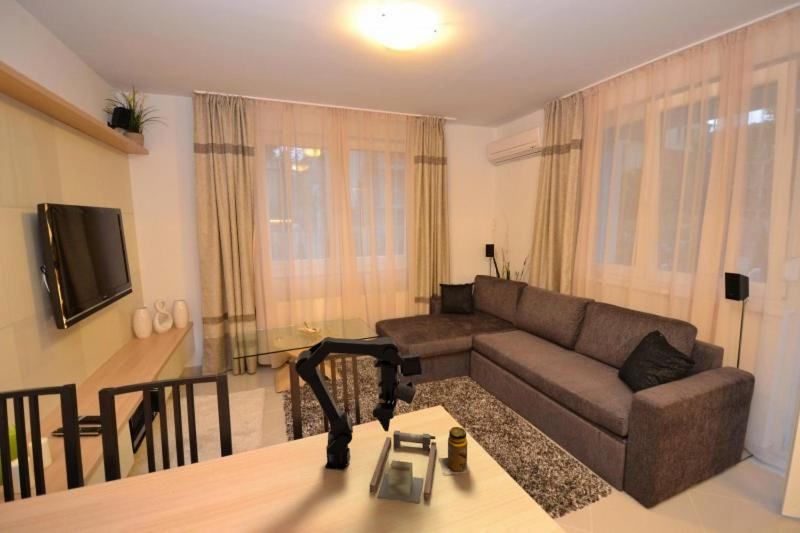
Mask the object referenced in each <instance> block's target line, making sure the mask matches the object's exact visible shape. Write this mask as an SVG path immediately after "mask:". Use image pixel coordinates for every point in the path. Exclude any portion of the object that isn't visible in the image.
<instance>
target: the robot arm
mask: <svg viewBox="0 0 800 533" xmlns="http://www.w3.org/2000/svg"><path fill="white" fill-rule="evenodd" d="M330 354H338V355H339V354H341V355H356V356H357V355H359V356H368V357H369V356H370V357H372V358H374V360H373V362H372V364H373V368H379V381H378V386H377V387H379V394H378V399H380V400H382V401H384V402H381V401H379V402H377V403H376V404H375V405H374V407H373V409H372V417H373V418H374V419H377V421H378V422H379V424H380V425H381V427H382V430H384V432H389V430H390V423H391V420H392V419H394V417H395V414H396V409H397V403H398V400H400V401H402V402H404V403H406V404H408V405H411V404H412V403H413V400H414V398H415V396H416V392H417V389H416V387H415V383H414V381H412V380H408V381H407V382H403V381H401V379H400V377H399V376H398V375H399V374H400V375H401V376H402V377H403V378H407V377H417V376H418V377H419V376H422V374H423V369H422V363H421V357H420V355H419V354H418V353H414V354H410V355H409V354H408V355H402V352H401V351H400V350H399V348H398V346H397V343H396V341H395V340H394V339H393V338H392V337H389V336H383V337H382V336H381V337H376V338H373V339H357V338H356V339H355V338H352V339H351V338H338V337H331V336H325V338H323V339H322V340H321V341H319V342H316V343H315V344H313V345H312V346H311V347H310V348H308V349H305V350H302V351H301V352H299V354H298V356H297V359H296V361H295V367H294V369H295V373H296V374H297V376H299V377H300V379H301V380H302V381H303V382H305V384H307V385H309V387H310V389H311V391H312V393H313V395H314V396H315V398H316V400H317V401H318V403H319V406H320V407H321V409H322V412H323V413H324V415H325V417H326V419H327V420H328V423H329V428H330V430H329V431H328V432H327V445H326V448H325V449H326V450H325V451H326V463H325V465H324V468H325V469H328V470H329V469H330V470H337V471H345V470H346V468H347V466H348V464H349V463H350V460H351V449H350V447H349V444H351V442H352V440H353V433H354V427H353V419H352V418H350V415H349V413H348V411H346V412H342V411H341V410H340V409H339V407H338V405H337V403H336V401H335V399H334V397H333V396H332V393H331V392H330V390H329V388H328V386H327V384H326V382H325V380H324V378H323V376H322V374H321V369H320V365H321V363H322V362H324V360H325V359H326V358H327V357H328V356H330ZM398 371H399V374H398Z"/></svg>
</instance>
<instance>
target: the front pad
mask: <svg viewBox="0 0 800 533" xmlns="http://www.w3.org/2000/svg"><path fill="white" fill-rule="evenodd" d="M388 474H389V473H386V472H385V473H383V477H382V480H381V483H380V487H379V489H378V493H377V495H376V498H377V499H385V500H386V499H387V500H392V501H399V502H405V503H413V504H420V501H421V495H422V489H423V483H424V478H423V477H416V476H413V481H412V486H411V492H410V496H402V495H395V494H389V483H388Z"/></svg>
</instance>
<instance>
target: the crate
mask: <svg viewBox="0 0 800 533" xmlns="http://www.w3.org/2000/svg"><path fill="white" fill-rule="evenodd" d="M387 474H388V483H389V494H395V495H402V496H410V492H411V486H412V481H413V477H414V475H413V474H414V473H413V462H409V461H401V460H394V459H393V460H392V461H391V464H390V468H389V472H388V473H387Z"/></svg>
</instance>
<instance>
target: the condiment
mask: <svg viewBox="0 0 800 533" xmlns="http://www.w3.org/2000/svg"><path fill="white" fill-rule="evenodd" d="M448 433H449V435H448V438H447V457H440V458H439V457H438V460H439V463H440V467H441V469H442V472H443V475H444V476H447V475H448V476H449V475H457V474H459V475H460V474H468V473H472V471H471V468H470V467H469V465H468V439H467V431H466V430H465V429H464V428H462V427H460V426H453V427H451V428H450V429H449V432H448Z"/></svg>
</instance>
